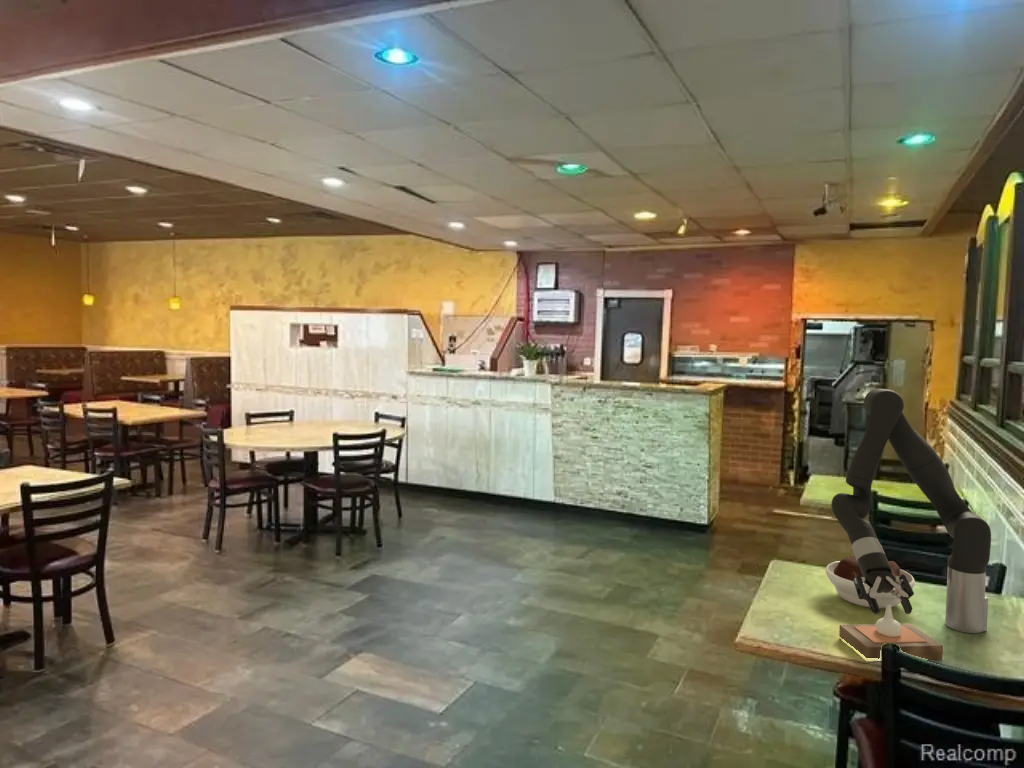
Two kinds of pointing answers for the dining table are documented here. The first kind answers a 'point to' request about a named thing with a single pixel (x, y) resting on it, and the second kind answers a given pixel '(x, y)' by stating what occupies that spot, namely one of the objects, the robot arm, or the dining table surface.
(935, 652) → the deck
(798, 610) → the dining table surface
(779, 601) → the dining table surface
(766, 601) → the dining table surface
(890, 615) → the garlic bulb
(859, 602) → the bowl of brown food
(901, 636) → the mat
